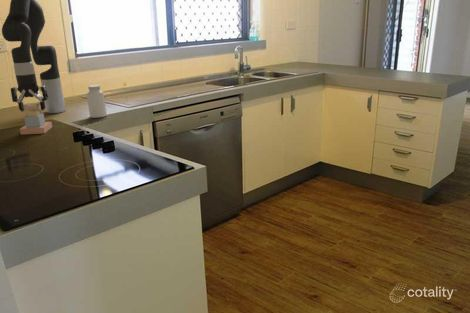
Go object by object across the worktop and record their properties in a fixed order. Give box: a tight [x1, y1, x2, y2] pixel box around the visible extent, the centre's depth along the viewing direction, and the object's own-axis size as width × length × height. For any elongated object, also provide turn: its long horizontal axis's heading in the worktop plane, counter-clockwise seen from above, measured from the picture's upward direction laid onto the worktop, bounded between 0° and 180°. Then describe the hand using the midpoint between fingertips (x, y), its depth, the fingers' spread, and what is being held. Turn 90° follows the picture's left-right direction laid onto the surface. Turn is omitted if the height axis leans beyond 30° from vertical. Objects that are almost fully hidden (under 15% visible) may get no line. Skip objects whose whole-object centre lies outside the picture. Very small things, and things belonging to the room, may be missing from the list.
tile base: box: [19, 121, 53, 135], centre depth 184 cm, size 10×10×2 cm
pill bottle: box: [86, 84, 107, 119], centre depth 203 cm, size 8×8×15 cm
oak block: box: [23, 101, 42, 117], centre depth 181 cm, size 5×5×5 cm
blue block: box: [23, 113, 46, 127], centre depth 183 cm, size 6×6×4 cm
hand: (32, 110), depth 181 cm, fingers open, 8 cm apart
